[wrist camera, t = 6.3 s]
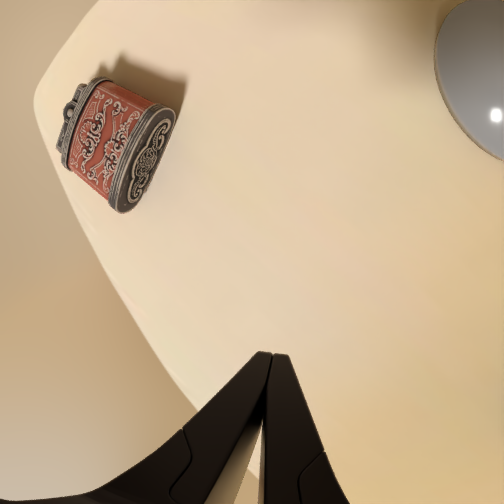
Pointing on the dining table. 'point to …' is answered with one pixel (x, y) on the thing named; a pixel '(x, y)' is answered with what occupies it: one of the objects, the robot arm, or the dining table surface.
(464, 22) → the grey smooth stone
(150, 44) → the dining table surface
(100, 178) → the lighter
